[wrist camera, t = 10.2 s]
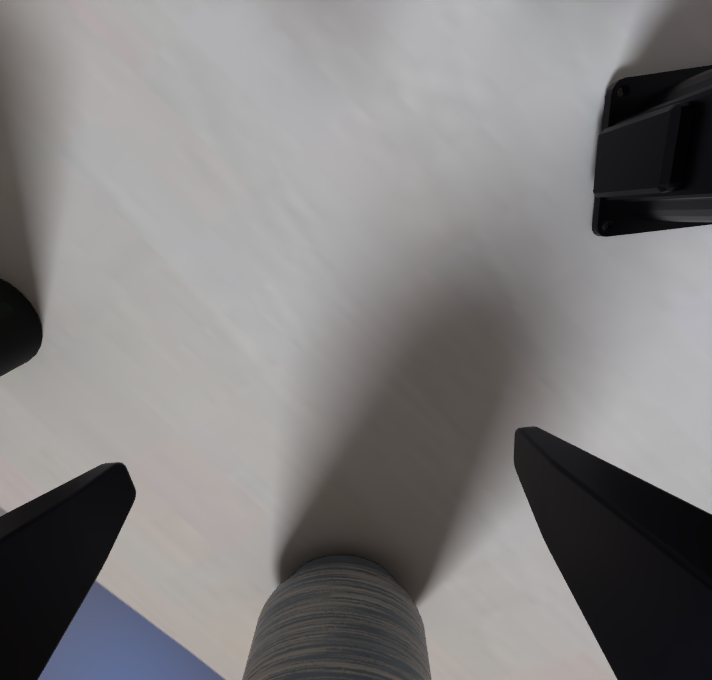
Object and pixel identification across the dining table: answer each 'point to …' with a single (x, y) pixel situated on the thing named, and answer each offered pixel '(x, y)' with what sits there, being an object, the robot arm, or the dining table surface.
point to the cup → (17, 329)
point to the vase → (339, 626)
